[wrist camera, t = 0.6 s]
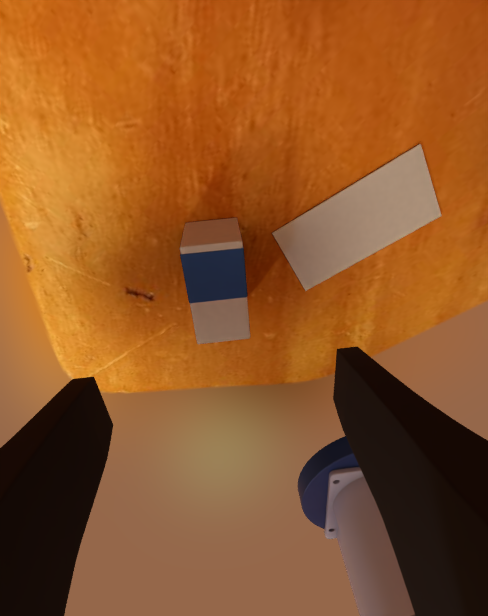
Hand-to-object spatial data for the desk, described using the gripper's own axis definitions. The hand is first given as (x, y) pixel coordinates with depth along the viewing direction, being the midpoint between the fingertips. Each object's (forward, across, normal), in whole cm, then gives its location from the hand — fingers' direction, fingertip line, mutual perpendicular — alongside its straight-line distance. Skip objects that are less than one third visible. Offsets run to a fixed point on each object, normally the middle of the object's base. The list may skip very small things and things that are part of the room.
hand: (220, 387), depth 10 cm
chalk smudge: (+9, -8, -2) cm, 12 cm away
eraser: (+9, 0, 0) cm, 9 cm away
